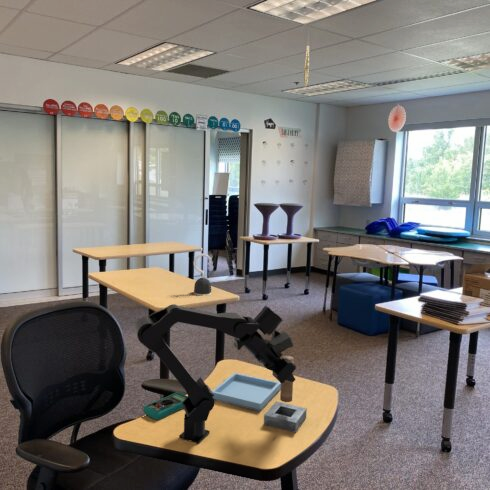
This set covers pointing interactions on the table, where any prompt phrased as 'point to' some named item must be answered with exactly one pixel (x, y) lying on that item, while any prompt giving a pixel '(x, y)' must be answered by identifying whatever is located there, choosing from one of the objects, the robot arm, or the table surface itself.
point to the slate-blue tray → (246, 391)
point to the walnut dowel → (287, 386)
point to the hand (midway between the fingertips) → (291, 378)
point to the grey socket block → (285, 416)
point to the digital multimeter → (165, 406)
